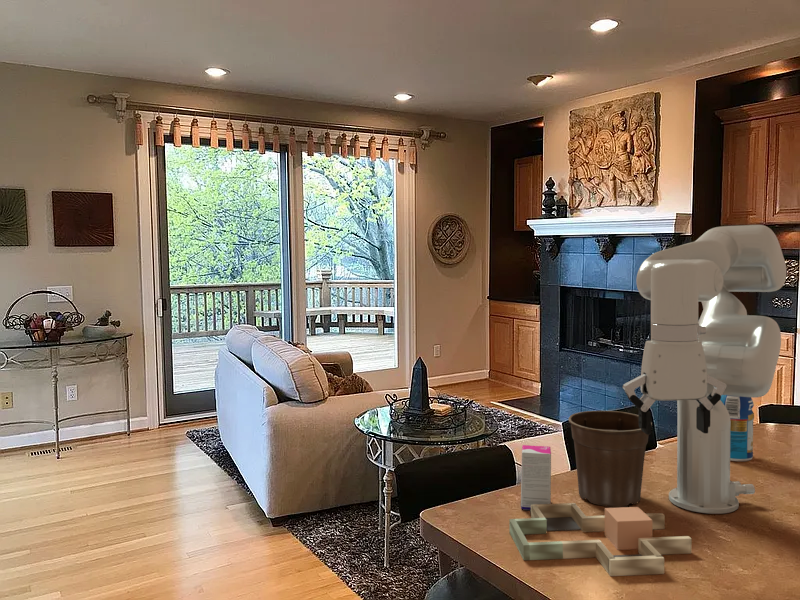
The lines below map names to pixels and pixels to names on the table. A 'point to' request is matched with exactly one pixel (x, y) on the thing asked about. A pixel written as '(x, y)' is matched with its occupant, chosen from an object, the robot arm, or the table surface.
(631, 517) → the terracotta block
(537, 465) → the supplement box
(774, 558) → the table surface
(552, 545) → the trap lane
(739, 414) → the blue cylindrical canister
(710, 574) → the table surface
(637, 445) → the plant pot
